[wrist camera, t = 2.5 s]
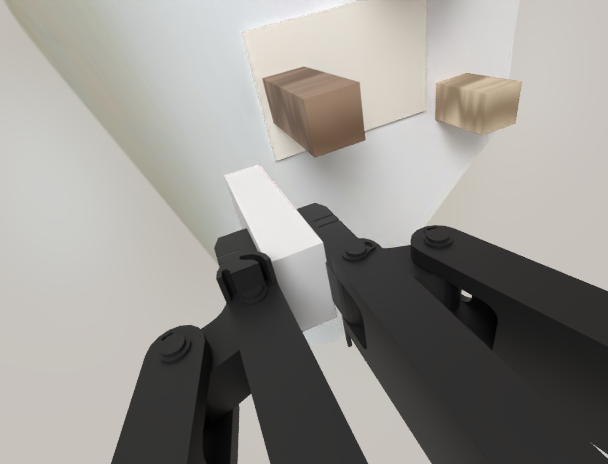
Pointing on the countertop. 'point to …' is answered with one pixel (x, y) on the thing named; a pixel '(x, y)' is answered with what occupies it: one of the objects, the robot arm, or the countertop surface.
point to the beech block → (477, 102)
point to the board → (348, 58)
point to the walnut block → (316, 109)
